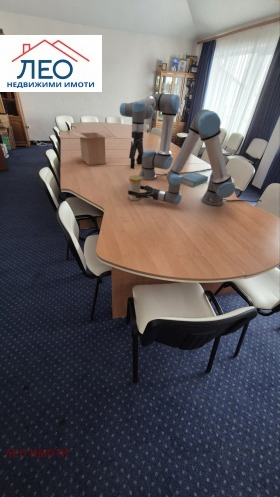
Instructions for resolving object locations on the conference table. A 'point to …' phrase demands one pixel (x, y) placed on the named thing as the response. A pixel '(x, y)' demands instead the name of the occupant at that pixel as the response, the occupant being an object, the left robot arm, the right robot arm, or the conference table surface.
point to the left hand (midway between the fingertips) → (135, 166)
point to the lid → (135, 178)
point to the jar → (134, 189)
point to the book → (193, 179)
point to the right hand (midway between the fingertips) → (132, 189)
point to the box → (92, 146)
